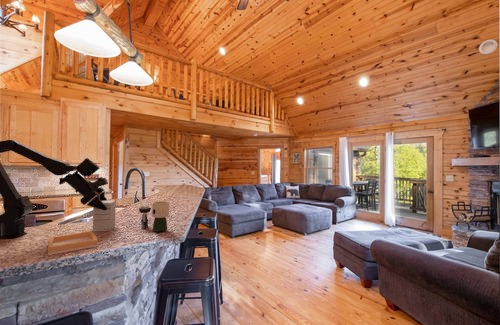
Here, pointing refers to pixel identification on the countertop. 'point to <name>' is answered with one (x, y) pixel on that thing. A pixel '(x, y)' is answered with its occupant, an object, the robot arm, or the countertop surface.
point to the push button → (144, 215)
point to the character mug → (160, 215)
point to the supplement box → (104, 217)
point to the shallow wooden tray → (71, 242)
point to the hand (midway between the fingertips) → (108, 207)
